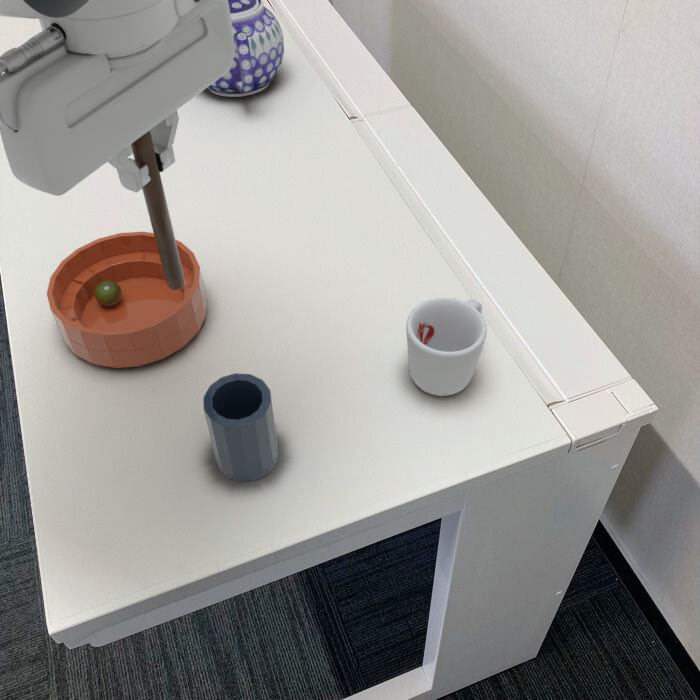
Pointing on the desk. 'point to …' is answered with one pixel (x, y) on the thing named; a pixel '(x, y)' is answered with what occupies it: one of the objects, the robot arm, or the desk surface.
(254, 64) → the teapot
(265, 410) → the crock
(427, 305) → the cup
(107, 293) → the bead
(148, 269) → the bowl
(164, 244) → the stick
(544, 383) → the desk surface
